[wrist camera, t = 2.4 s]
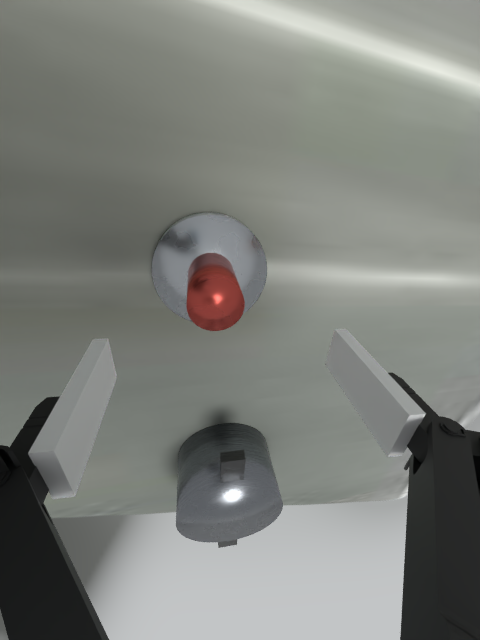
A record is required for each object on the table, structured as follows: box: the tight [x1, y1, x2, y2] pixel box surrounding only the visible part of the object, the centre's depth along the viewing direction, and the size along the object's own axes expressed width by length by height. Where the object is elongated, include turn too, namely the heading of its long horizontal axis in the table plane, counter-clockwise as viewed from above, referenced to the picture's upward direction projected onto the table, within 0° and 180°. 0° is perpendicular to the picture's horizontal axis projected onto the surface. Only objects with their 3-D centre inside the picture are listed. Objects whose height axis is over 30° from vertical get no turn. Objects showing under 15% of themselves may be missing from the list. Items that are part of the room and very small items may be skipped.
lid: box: [152, 212, 267, 331], centre depth 24 cm, size 11×11×8 cm
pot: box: [176, 423, 283, 548], centre depth 39 cm, size 22×14×9 cm, turn 177°
